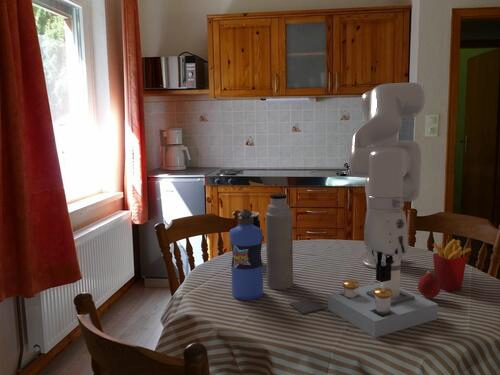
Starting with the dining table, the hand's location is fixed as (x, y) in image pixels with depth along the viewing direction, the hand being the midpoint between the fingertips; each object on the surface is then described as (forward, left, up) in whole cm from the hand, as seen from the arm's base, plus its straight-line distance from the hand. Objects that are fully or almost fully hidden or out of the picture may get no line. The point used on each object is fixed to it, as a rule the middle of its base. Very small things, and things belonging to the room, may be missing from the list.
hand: (383, 280), depth 106 cm
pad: (+9, -19, -12) cm, 24 cm away
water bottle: (+19, -35, -12) cm, 42 cm away
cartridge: (-8, -6, -12) cm, 16 cm away
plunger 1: (0, -12, -11) cm, 17 cm away
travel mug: (+6, -60, -12) cm, 62 cm away
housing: (-5, -6, -12) cm, 15 cm away
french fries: (-35, -9, -12) cm, 38 cm away
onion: (-23, -7, -12) cm, 27 cm away
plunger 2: (0, 0, -10) cm, 10 cm away
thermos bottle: (+7, -37, -12) cm, 40 cm away
